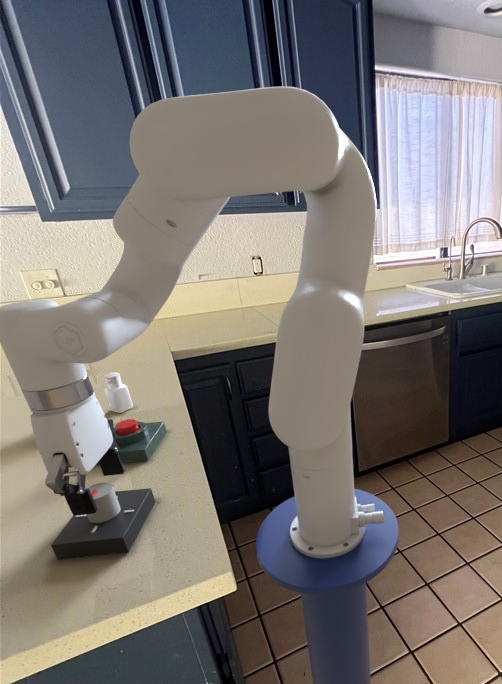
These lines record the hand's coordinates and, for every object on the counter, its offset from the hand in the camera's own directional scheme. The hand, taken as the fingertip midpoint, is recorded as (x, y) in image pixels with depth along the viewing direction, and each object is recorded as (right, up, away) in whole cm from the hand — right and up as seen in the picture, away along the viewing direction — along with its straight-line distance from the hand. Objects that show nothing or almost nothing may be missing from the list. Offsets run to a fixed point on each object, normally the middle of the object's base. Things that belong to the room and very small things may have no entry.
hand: (101, 492), depth 66 cm
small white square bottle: (-23, +12, +42) cm, 50 cm away
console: (-10, +4, +26) cm, 28 cm away
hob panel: (-1, -7, +3) cm, 7 cm away
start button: (-10, +8, +24) cm, 27 cm away
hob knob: (-1, -4, +2) cm, 4 cm away
